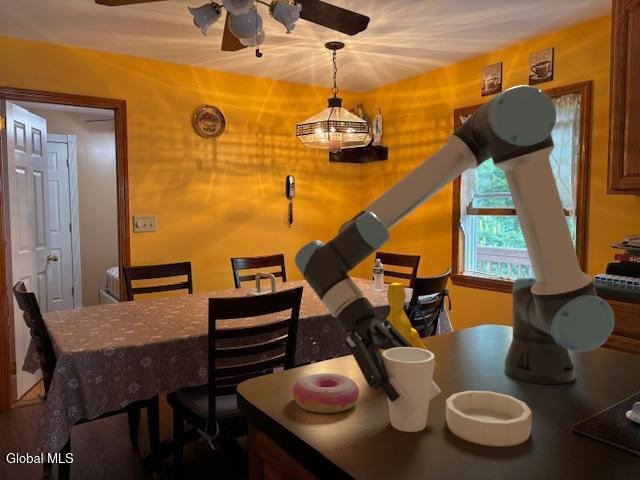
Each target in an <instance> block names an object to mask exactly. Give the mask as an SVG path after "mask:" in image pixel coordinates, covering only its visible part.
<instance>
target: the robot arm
mask: <svg viewBox="0 0 640 480" xmlns="http://www.w3.org/2000/svg"><path fill="white" fill-rule="evenodd" d="M556 122H557V111H556V106H555V103H554V102H553V100H552V98H551V97H550V96H549V95H548V94H547V93H546V92H544V91H543V90H542V89H539V88H538V87H535V86H531V85H518V86H514V87H511V88H507V89H506V90H503V91H501V92H499V93H497V94H496V95H495V96H494V97H493V98H492V99H491V100H490V99H489V100H488V101H487V102H485V103H484V104H482V105H481V106H479V107H478V108H477V109H476V110H475V111H474V112H473V113H472V114H471V115H470V117H468V119H466V120H465V121H464V123H462V124H461V125H460V126H459V127H458V128H457V129H456V130H455V131H453V132H452V133H451V134H449V136H448V137H447V142H446V143H445V144H444V145H443V146H441V147H440V148H439V149H438V150H436V151H435V152H434V153H433V154H432V155H430V156H429V157H428V158H427V159H425V160H424V161H423V162H422V163H420V164H419V165H417V166H416V167H415V168H414V169H413V170H411V171H410V172H409V173H407V174H406V175H405V176H404V177H403V178H401V179H400V180H399V181H398V182H396V183H394V185H392V186H391V187H390V188H389V189H387V190H386V191H385V192H383V194H381V195H379V196H378V197H377V198H376V199H374V201H373V200H372V202H371V203H369V204H368V205H367V206H366V207H365V208H363V209H362V210H361V211H360V212H358V213H356V215H354V216H353V217H351V218H350V219H349V220H346V221H345V222H344V223H343V224H341V226H340V228H339V229H338V232H337V235H336V236H334V237H333V238H332V239H331V240H329V241H328V242H326V243H324V242H322V241H321V240H320V239H315V240H311V241H310V242H309V243H306V244H304V245H303V246H302V247H301V248H300V249H299V250H298V251H297V253H296V254H295V257H294V263H295V266H296V267H297V269H298V271H299V272H300V273H301V275H302V277H303V278H304V280H305V281H306V283H307V284H308V285H309V287H310V288H311V289H312V290H313V292H314V293H315V294H316V296H317V297H318V298H319V299H320V301H321V302H322V303H323V304H324V306H325V307H326V309H327V310H328V311H329V313H330V315H331V316H332V317H334V318H335V319H336V320H335V322H336V323H337V324H338V326H339V327H340V328H341V329H342V331H343V332H344V333H345V334H347V335H349V336H347V337H346V338H345V340H344V341H343V343H344V344H345V345H346V347H347V348H348V349H349V350H350V352H351V353H352V356H353V358H354V360H355V362H356V363H357V365H358V368H359V370H360V372H361V373H362V375H363V378H364V379H365V381H366V383H367V385H368V387H369V388H373V389H374V390H376V391H378V390H379V389H380V390H382V391H383V393H384V394H385V396H386V397H388V398H389V400H390V401H391V402H393V404H394V405H395V406H396V408H397V409H398V410H399V412H400V413H401V415H402V416H403V417H404V419H406V418H407V417H409V416H410V415H411V414H412V413H414V412H415V411H416V410H417V409H416V408H415V406H414V405H413V404H412V402H411V401H410V400H409V398H408V397H407V396H406V394H405V393H404V392H403V390H402V389H401V388H400V386H399V385H398V384H397V382H396V381H395V380H394V378H392V379H390V380H389V376H388V374H387V371H386V368H385V365H384V363H383V360H382V353H381V351H380V349H381V350H387V349H391V348H397V347H412V348H414V347H413V346H412V345H411V344H410V343H409V342H408V341H407V340H406V339H405V338H404V337H403V336H402V335H401V334H400V333H399V332H398V331H397V330H396V329H395V328H394V327H393V325H392V324H391V322H390V321H389V320H386V319H385V320H386V321H385V320H384V322H380V321H379V320H378V319H377V318H376V317H375V315H376V313H377V311H376V308H375V307H374V305H373V304H372V303H371V302H370V301H369V299H368V298H367V297H364V292H362V290H361V289H360V288H359V287H358V285H357V284H356V283H355V282H354V281H353V279H352V278H351V277H350V276H349V273H350V272H351V271H352V270H354V268H356V267H357V266H359V264H360V263H362V262H363V261H365V260H366V259H367V258H368V257H370V256H371V255H372V254H374V253H375V252H377V251H378V250H380V249H381V248H382V246H384V245H385V243H387V241H389V239H390V237H391V233H390V232H389V231H390V230H391V229H392V228H394V227H395V226H396V225H398V224H399V223H400V222H401V221H403V220H405V218H407V217H408V216H409V215H410V214H412V213H413V212H414V211H417V209H418V208H419V207H421V206H422V205H424V203H426V202H427V201H428V200H429V199H431V198H433V196H435V195H436V194H438V193H439V192H440V191H442V190H443V189H444V188H445V187H446V186H448V185H449V184H450V183H452V182H453V181H454V180H455V179H457V178H458V177H460V176H461V175H462V174H463V173H465V172H466V171H467V170H468V169H470V170H475V169H477V168H478V167H479V166H480V165H482V164H484V163H485V162H487V161H488V160H490V159H492V162H493V166H494V167H496V168H499V169H500V170H502V171H503V173H504V176H505V179H506V182H507V185H508V188H509V192H510V196H511V198H512V199H511V200H512V203H513V206H514V210H515V213H516V216H517V219H518V223H519V226H520V230H521V233H522V236H523V239H524V243H525V247H526V249H527V250H526V251H527V253H528V258H529V261H530V264H531V266H532V267H531V268H532V271H533V275H534V277H518V278H516V279H515V280H514V281H513V286H512V292H511V294H512V339H511V342H510V345H509V348H508V350H507V353H506V356H505V358H504V372H505V373H506V374H507V375H509V377H512V378H514V379H517V380H520V381H524V382H527V383H528V382H529V383H533V384H540V385H541V384H542V385H563V384H568V383H571V382H573V381H574V380H575V379H576V376H575V371H576V368H575V365H574V362H573V359H572V357H571V353H570V350H571V351H574V352H579V353H584V352H590V351H593V350H596V349H598V348H599V347H602V345H604V344H605V343H606V342H607V341H608V338H609V337H610V336H611V334H612V333H613V332H614V327H615V321H616V320H615V314H614V311H613V309H612V307H611V305H610V304H609V303H608V302H607V301H606V300H605V299H603V298H602V297H600V296H598V294H597V290H596V287H595V284H594V281H593V278H592V277H593V276H591V275H589V274H587V273H586V272H583V271H582V270H581V267H580V266H581V265H580V263H579V260H578V256H577V252H576V249H575V246H574V242H573V237H572V234H571V232H570V228H569V223H568V221H567V216H566V214H565V210H564V206H563V204H562V200H561V195H560V192H559V190H558V185H557V182H556V179H555V176H554V172H553V169H552V168H553V167H552V164H551V161H550V155H551V153H552V152H553V150H554V148H555V143H554V140H553V137H552V134H551V133H552V131H553V129H554V128H555V125H556ZM441 392H442V390H441V389H440V388H439V386H438V385H437V383H436V382H435V381H434V380H433V379H432V384H431V391H430V399H429V401H431V400H432V399H433V398H435V397H437V395H439V394H440V393H441ZM388 398H387V399H388Z"/></svg>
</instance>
